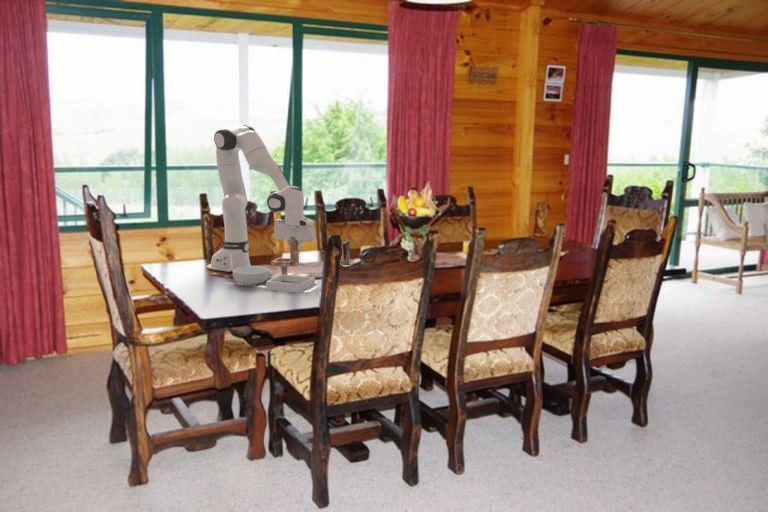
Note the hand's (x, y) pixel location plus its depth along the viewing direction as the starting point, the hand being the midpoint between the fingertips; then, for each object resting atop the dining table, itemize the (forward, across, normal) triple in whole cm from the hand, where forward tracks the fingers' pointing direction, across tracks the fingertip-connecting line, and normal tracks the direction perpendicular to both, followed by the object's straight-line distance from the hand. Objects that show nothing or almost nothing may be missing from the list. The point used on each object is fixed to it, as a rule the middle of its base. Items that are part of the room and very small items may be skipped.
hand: (294, 249), depth 332 cm
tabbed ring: (+8, -4, 0) cm, 9 cm away
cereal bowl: (+15, -14, -17) cm, 26 cm away
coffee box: (+14, +17, +17) cm, 28 cm away
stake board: (+14, -3, +1) cm, 15 cm away
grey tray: (+14, +6, -16) cm, 22 cm away
